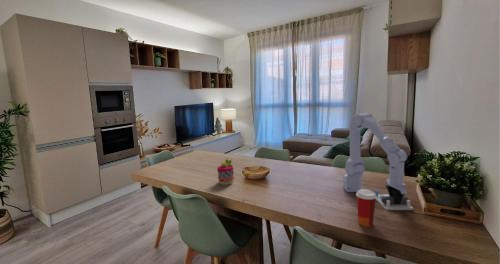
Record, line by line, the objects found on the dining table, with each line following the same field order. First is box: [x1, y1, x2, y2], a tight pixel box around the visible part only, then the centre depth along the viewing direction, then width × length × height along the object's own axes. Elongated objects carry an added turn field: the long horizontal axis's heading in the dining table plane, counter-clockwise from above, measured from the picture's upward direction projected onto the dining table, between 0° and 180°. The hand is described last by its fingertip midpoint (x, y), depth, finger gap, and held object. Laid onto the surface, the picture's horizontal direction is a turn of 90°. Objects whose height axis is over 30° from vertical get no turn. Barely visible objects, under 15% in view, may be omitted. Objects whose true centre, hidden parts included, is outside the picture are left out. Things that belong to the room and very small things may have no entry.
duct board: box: [374, 189, 414, 211], centre depth 118 cm, size 12×15×4 cm
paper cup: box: [355, 188, 377, 228], centre depth 101 cm, size 8×8×14 cm
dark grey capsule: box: [382, 195, 409, 204], centre depth 115 cm, size 12×4×4 cm, turn 85°
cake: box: [217, 158, 235, 186], centre depth 155 cm, size 10×11×15 cm
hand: (394, 201), depth 115 cm, fingers closed on dark grey capsule, 4 cm apart
